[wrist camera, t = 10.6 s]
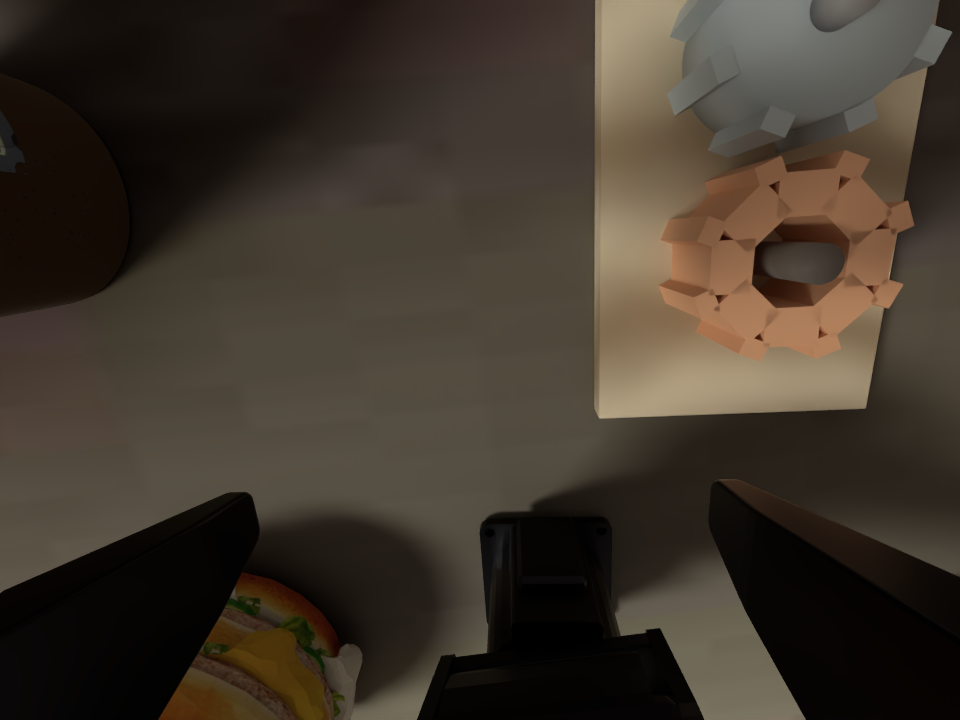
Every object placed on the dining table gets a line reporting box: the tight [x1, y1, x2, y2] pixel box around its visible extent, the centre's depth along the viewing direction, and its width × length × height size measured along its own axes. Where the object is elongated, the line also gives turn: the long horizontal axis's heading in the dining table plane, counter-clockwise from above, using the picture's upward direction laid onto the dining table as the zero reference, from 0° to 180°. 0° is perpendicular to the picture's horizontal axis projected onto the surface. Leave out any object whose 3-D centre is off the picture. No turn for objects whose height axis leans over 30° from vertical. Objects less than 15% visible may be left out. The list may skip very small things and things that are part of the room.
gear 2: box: [659, 150, 914, 362], centre depth 16 cm, size 6×6×4 cm
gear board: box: [594, 0, 940, 418], centre depth 15 cm, size 20×11×6 cm, turn 4°
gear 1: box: [667, 0, 952, 158], centre depth 13 cm, size 6×6×4 cm
